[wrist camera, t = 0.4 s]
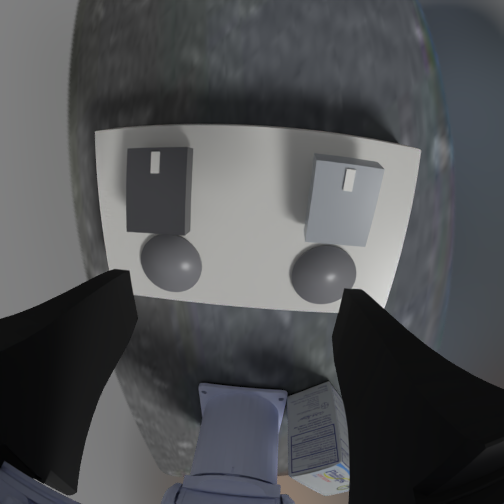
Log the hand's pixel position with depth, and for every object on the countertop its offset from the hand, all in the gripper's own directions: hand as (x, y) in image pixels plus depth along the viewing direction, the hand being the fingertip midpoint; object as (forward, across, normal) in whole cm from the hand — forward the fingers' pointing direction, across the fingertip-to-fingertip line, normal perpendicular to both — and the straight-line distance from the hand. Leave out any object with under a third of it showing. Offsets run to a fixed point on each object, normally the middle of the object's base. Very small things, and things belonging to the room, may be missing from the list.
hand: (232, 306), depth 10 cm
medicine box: (+10, -8, +18) cm, 22 cm away
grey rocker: (+5, -4, -2) cm, 7 cm away
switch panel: (+9, 0, 0) cm, 9 cm away
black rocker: (+5, +4, -2) cm, 7 cm away
